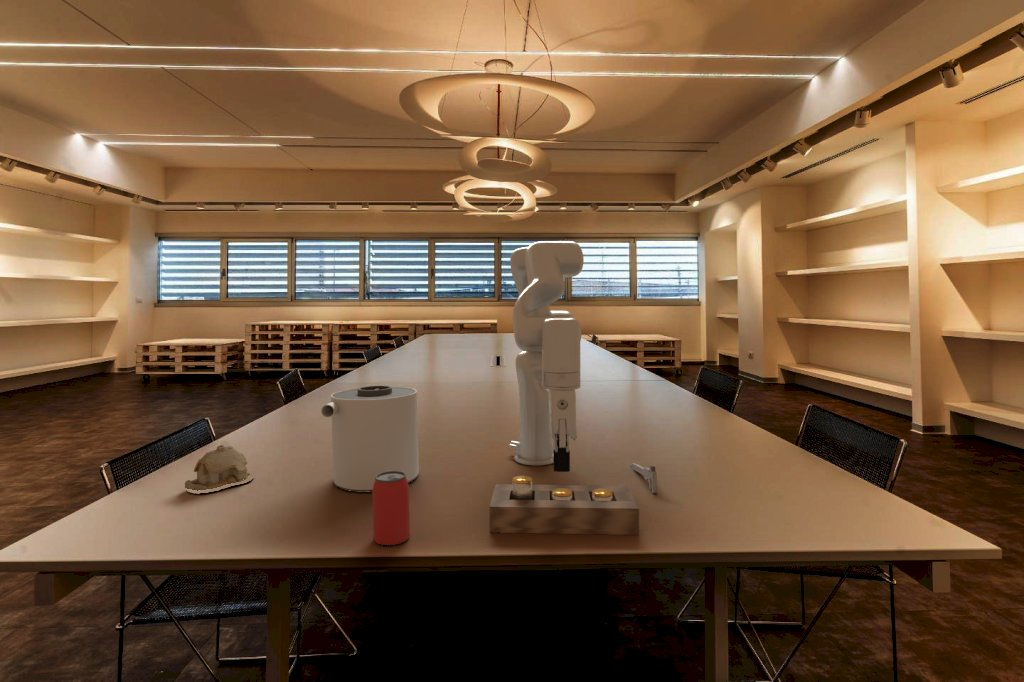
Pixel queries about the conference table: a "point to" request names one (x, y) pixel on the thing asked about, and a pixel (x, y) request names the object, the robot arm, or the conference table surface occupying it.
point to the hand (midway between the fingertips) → (561, 470)
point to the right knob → (601, 495)
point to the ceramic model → (219, 469)
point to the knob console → (564, 511)
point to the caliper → (647, 475)
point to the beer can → (391, 508)
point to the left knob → (522, 488)
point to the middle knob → (562, 494)
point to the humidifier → (373, 434)
